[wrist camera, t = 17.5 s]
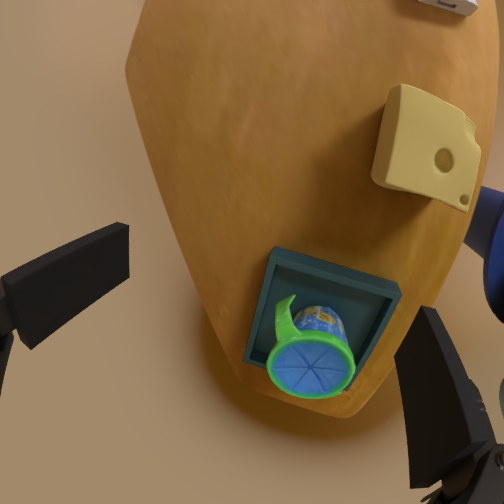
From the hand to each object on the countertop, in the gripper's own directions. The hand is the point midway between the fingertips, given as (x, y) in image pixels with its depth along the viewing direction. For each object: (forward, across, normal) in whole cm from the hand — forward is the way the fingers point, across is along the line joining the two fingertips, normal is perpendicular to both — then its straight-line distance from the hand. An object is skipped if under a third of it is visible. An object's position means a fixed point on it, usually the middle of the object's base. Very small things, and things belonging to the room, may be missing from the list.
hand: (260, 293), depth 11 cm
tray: (+26, +6, -17) cm, 32 cm away
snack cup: (+25, +6, -17) cm, 31 cm away
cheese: (+26, +12, +10) cm, 30 cm away
